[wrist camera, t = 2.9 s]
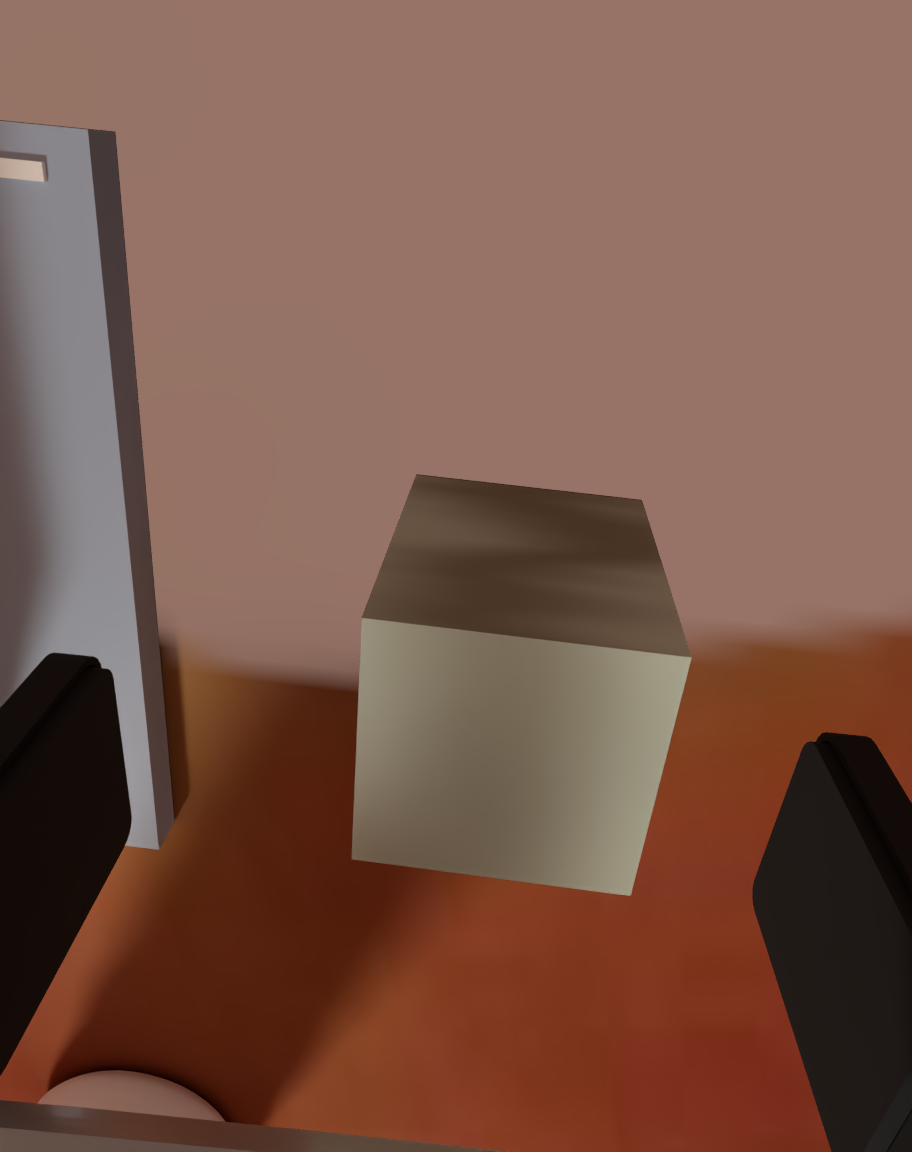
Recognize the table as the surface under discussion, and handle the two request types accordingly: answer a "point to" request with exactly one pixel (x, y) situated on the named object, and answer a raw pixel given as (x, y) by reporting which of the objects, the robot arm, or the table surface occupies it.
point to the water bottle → (130, 1095)
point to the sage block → (516, 686)
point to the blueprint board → (76, 445)
